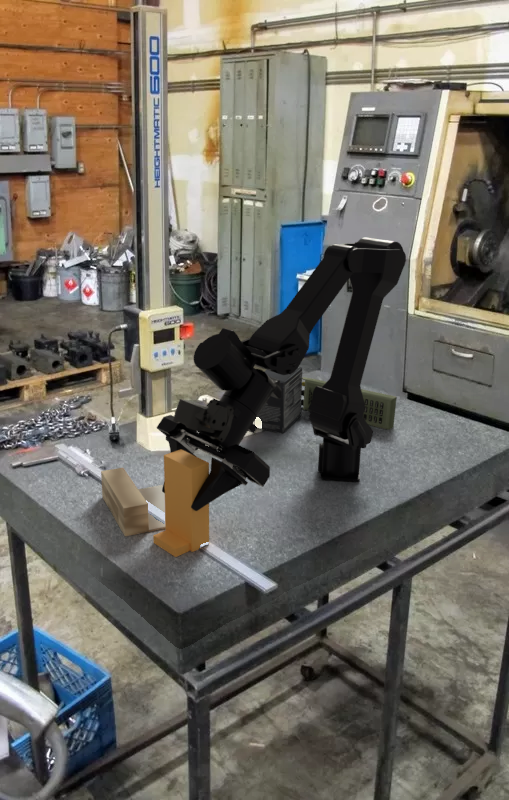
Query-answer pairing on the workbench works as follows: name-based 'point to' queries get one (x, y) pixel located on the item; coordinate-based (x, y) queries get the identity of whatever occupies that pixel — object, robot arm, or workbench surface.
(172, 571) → the workbench surface
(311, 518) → the workbench surface
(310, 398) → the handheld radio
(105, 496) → the wooden block on plate
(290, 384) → the small box
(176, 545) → the orange l-shaped bookend
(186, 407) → the robot arm
